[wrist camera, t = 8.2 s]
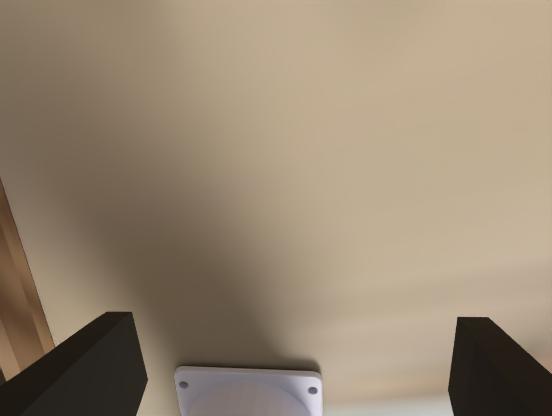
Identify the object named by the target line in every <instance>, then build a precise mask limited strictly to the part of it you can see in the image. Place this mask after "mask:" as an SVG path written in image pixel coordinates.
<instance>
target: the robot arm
mask: <svg viewBox="0 0 552 416" xmlns="http://www.w3.org/2000/svg"><path fill="white" fill-rule="evenodd" d="M147 381H148V378H147V373H146V369H145V365H144V361H143V357H142V352H141V348H140V344H139V340H138V336H137V331H136V327H135V323H134V319H133V315H132V312H106V313H104V314H103V315H101V316H99V317H98V318H96V319H95V320H93V321H92V322H90V323H89V324H87V325H86V326H85V327H83V328H82V329H80V330H79V331H78V332H76V333H75V334H73V335H72V336H71V337H69V338H68V339H66V340H65V341H64V342H62V343H61V344H59V345H58V346H57V347H55V348H54V349H52V350H51V351H50V352H48V353H47V354H45V355H44V356H43V357H41V358H40V359H38V360H37V361H36V362H34V363H33V364H31V365H30V366H28V367H27V368H26V369H24V370H23V371H21V372H20V373H19V374H17V375H16V376H14V377H13V378H11V379H10V380H8V381H7V382H5V383H4V384H2V385H1V386H0V416H136V414H137V411H138V408H139V406H140V403H141V400H142V397H143V393H144V390H145V387H146V384H147ZM174 381H175V386H176V391H177V396H178V402H179V407H180V412H181V416H323V405H322V376H321V375H320V374H319V373H317V372H314V371H294V370H269V369H243V368H217V367H192V366H180V367H178V368H177V369H176V371H175V373H174ZM183 381H184V382H186V383H184V382H183ZM310 387H315V388H314V389H313V388H310ZM448 392H449V396H450V401H451V405H452V410H453V414H454V416H552V374H551V373H550V372H549V371H548V370H547V369H545V368H544V367H543V366H542V365H541V364H540V363H539V362H538V361H536V360H535V359H534V358H533V357H532V356H531V355H530V354H529V353H527V352H526V351H525V350H524V349H523V348H522V347H521V346H520V345H519V344H517V343H516V342H515V341H514V340H513V339H512V338H511V337H510V336H509V335H508V334H506V333H505V332H504V331H503V330H502V329H501V328H500V327H499V326H498V325H496V324H495V323H494V322H493V321H492V320H491V319H490V318H488V317H458V318H457V326H456V333H455V341H454V348H453V356H452V364H451V371H450V379H449V386H448Z"/></svg>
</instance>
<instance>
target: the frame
mask: <svg viewBox="0 0 552 416" xmlns="http://www.w3.org/2000/svg"><path fill="white" fill-rule="evenodd" d="M54 348H55V347H54V344H53V341H52V337H51V334H50V331H49V328H48V325H47V322H46V319H45V316H44V313H43V310H42V307H41V304H40V300H39V297H38V294H37V291H36V288H35V285H34V282H33V279H32V276H31V273H30V270H29V267H28V264H27V260H26V257H25V254H24V251H23V248H22V245H21V242H20V239H19V236H18V233H17V230H16V227H15V224H14V220H13V217H12V214H11V211H10V208H9V205H8V202H7V199H6V196H5V193H4V190H3V187H2V183H1V180H0V366H1V370H0V386H1V385H2V384H4V383H5V382H7V381H8V380H10V379H11V378H13V377H14V376H16V375H17V374H19V373H20V372H21V371H23V370H24V369H26V368H27V367H28V366H30V365H31V364H33V363H34V362H36V361H37V360H38V359H40V358H41V357H43V356H44V355H45V354H47V353H48V352H50V351H51V350H52V349H54Z"/></svg>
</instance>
